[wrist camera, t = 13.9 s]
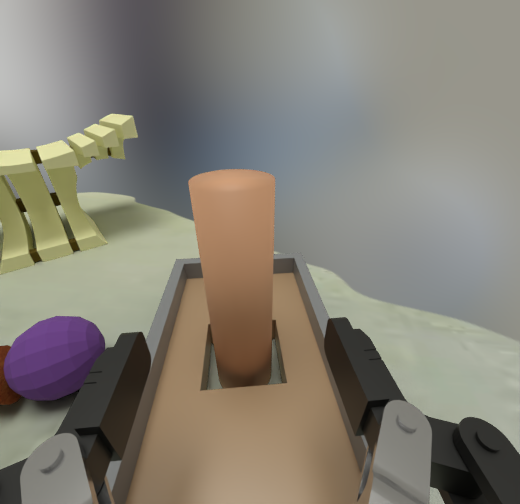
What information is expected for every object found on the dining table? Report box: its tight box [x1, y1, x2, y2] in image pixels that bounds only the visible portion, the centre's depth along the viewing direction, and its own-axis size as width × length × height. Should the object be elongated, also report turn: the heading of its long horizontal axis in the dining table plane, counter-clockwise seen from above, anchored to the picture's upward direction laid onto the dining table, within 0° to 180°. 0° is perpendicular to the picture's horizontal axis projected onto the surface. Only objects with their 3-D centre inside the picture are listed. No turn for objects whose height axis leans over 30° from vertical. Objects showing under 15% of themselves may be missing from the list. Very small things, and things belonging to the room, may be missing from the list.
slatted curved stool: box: [0, 114, 138, 275], centre depth 38 cm, size 30×16×18 cm, turn 129°
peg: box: [188, 169, 275, 389], centre depth 17 cm, size 4×4×16 cm
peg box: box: [106, 253, 368, 504], centre depth 20 cm, size 14×22×4 cm, turn 5°
